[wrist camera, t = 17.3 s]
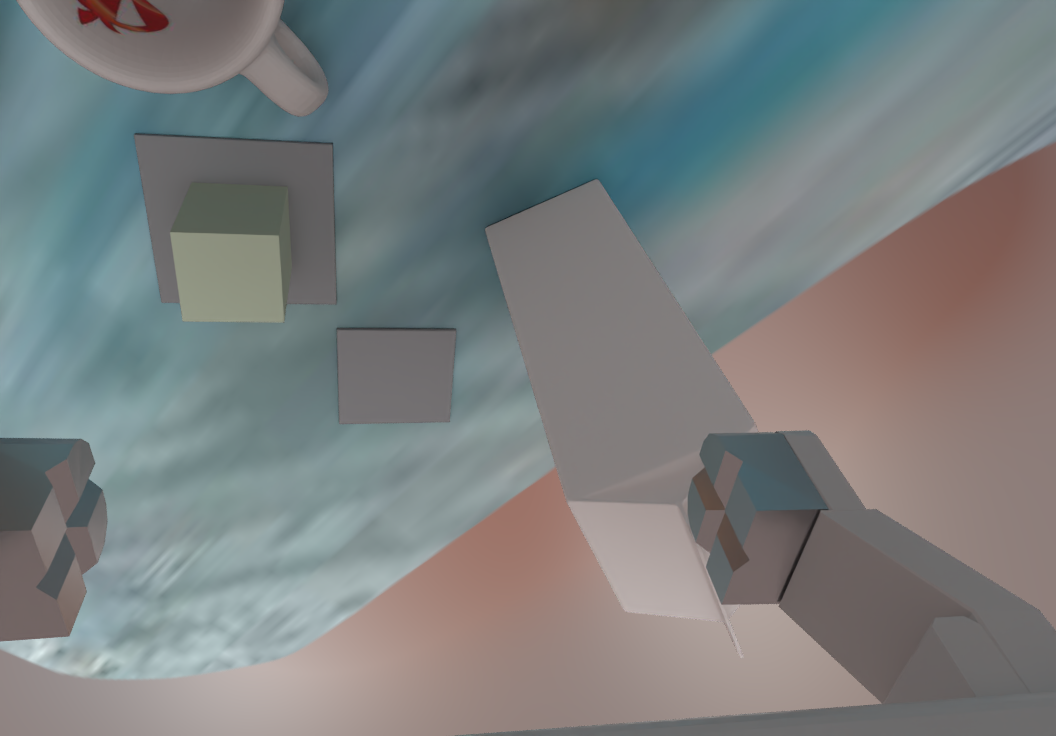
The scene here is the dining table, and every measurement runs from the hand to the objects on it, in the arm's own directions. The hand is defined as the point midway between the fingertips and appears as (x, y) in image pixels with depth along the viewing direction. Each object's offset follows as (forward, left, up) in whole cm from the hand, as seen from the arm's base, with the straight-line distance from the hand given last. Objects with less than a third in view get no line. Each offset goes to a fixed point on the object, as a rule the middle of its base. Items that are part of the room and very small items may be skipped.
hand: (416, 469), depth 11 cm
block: (+6, +9, -27) cm, 29 cm away
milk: (-9, +10, -27) cm, 30 cm away
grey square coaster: (-1, +18, -27) cm, 32 cm away
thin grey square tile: (+6, +9, -27) cm, 29 cm away
